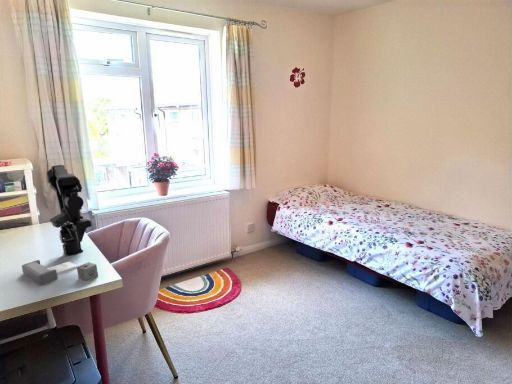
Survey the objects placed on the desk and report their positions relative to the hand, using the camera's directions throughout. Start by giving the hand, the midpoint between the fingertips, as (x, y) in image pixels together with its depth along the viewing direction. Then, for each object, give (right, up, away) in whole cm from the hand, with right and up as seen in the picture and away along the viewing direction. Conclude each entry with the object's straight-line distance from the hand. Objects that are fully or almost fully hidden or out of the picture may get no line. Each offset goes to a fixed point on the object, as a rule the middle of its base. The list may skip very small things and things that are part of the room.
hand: (77, 240), depth 146 cm
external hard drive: (-5, -12, -5) cm, 14 cm away
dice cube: (+11, -13, -12) cm, 21 cm away
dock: (-10, -13, -10) cm, 19 cm away
